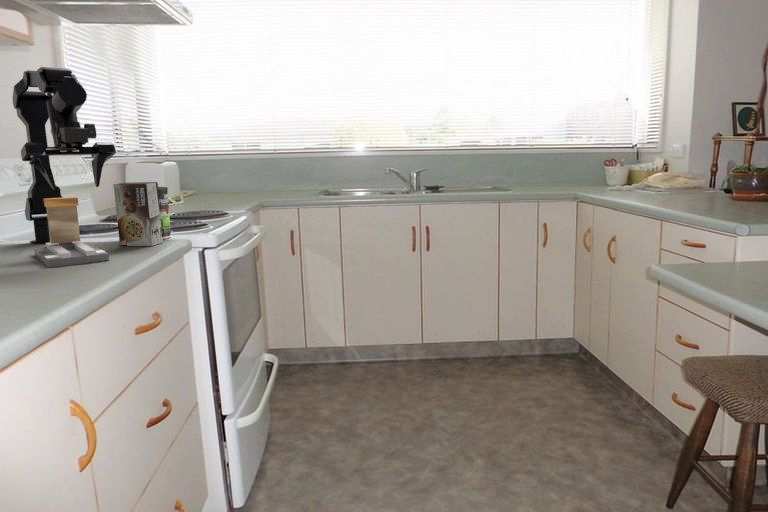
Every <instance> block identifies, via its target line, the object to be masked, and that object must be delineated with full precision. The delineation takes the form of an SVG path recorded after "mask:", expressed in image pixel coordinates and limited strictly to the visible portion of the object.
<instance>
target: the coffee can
mask: <svg viewBox="0 0 768 512" xmlns="http://www.w3.org/2000/svg"><path fill="white" fill-rule="evenodd" d="M168 190H169V189H168V186H158V193H159V205H160V216H161V228H162V239H163V240H166V239H171V238H172V234H171V233H172V232H171V222H170V221H171V219H170V218H171V217H170V208H169V207H170V205H169V196H168V195H169V194H168V193H169V192H168Z"/></svg>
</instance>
